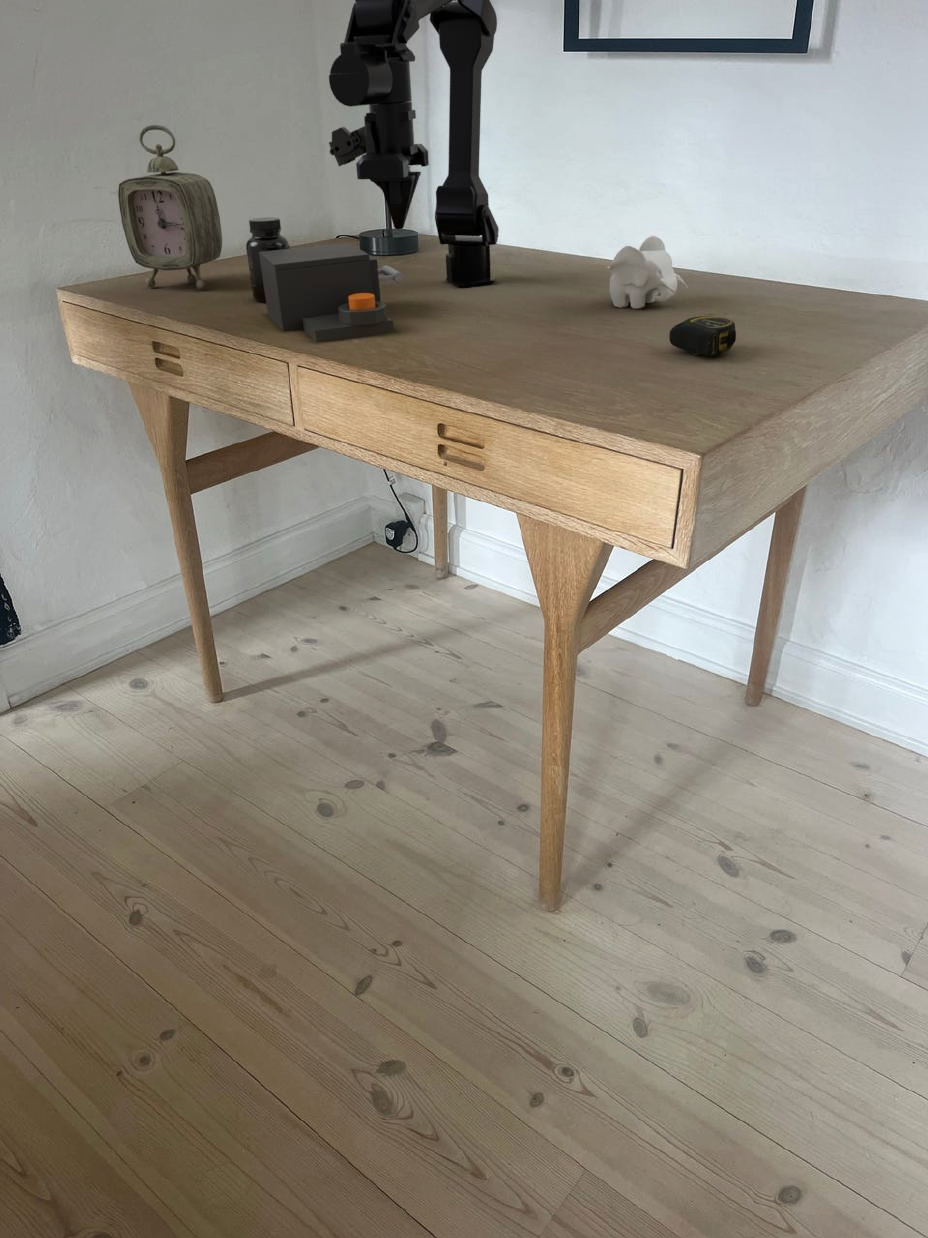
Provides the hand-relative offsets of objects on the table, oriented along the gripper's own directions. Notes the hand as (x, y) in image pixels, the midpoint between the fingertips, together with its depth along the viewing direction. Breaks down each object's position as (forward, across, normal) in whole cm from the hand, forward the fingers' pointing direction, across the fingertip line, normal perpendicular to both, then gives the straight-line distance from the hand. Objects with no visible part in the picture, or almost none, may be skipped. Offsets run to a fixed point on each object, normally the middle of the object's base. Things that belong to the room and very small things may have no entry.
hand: (399, 228), depth 130 cm
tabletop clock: (+12, -22, -44) cm, 51 cm away
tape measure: (+12, +21, +42) cm, 48 cm away
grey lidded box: (+12, +1, -13) cm, 18 cm away
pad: (+12, +9, -6) cm, 16 cm away
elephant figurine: (+12, -5, +35) cm, 37 cm away
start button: (+9, +10, -4) cm, 14 cm away
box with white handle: (+11, -1, -9) cm, 14 cm away
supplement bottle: (+12, -12, -24) cm, 29 cm away
